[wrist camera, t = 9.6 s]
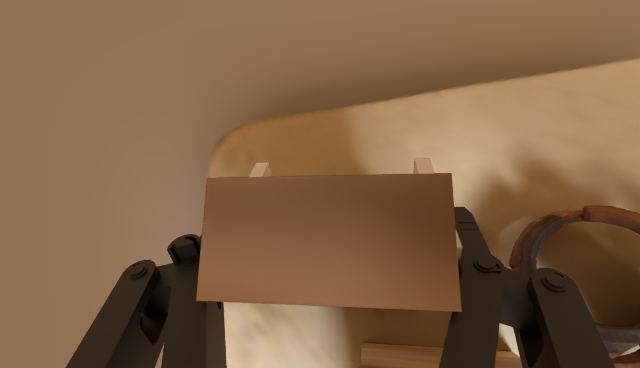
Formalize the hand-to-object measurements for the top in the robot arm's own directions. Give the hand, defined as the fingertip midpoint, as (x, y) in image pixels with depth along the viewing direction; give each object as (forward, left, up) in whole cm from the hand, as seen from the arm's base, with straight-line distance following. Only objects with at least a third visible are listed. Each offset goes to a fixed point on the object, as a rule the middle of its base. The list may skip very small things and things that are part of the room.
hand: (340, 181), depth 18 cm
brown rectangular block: (-3, +2, -4) cm, 6 cm away
